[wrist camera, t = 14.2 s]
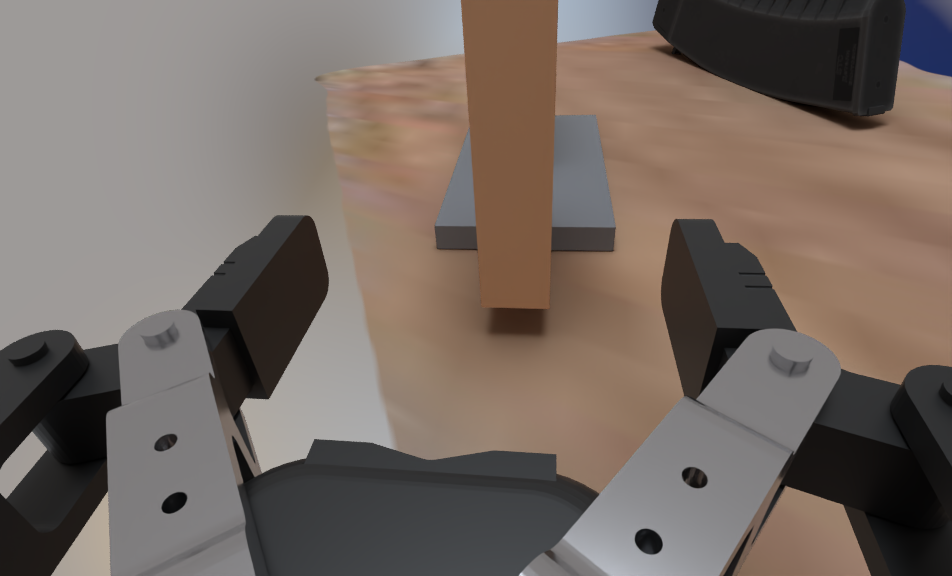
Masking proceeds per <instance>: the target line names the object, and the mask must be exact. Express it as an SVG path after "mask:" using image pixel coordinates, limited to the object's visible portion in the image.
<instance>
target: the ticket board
mask: <svg viewBox="0 0 952 576" xmlns="http://www.w3.org/2000/svg"><path fill="white" fill-rule="evenodd" d="M615 229H616V227H615V221H614V215H613V210H612V204H611V198H610V193H609V187H608V181H607V176H606V170H605V164H604V159H603V153H602V147H601V142H600V136H599V130H598V125H597V119H596V115H560V116H555V130H554V166H553V201H552V237H551V250H587V251H613V247H614V238H615ZM435 234H436V242H437V249H478V247H477V232H476V217H475V202H474V187H473V172H472V157H471V142H470V127H469V130H468V133H467V135H466V138H465V141H464V144H463V147H462V150H461V152H460V155H459V158H458V161H457V164H456V167H455V169H454V172H453V175H452V178H451V181H450V184H449V186H448V189H447V192H446V195H445V198H444V201H443V204H442V206H441V209H440V212H439V215H438V218H437V221H436V223H435Z"/></svg>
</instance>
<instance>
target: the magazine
mask: <svg viewBox="0 0 952 576" xmlns="http://www.w3.org/2000/svg"><path fill="white" fill-rule="evenodd" d="M905 12H906V8H905V3H904V0H659V1H658V4H657V8H656V11H655V15H654V19H653V26H654V28H655V29H656V30H657V31H658V32H659V33H660V34H661V35H662V36H663V37H664V38H665V39H666V40H667V41H668V42H669V43H670V44H671V45H672V46H674V48H673V51H672V54H678V53H683V54H684V55H686V56H687V57H688V58H690V59H691V60H692V61H694V62H695V63H696V64H698V65H699V66H701V67H702V68H704V69H706V70H707V71H709V72H711V73H712V74H714V75H717V76H719V77H721V78H723V79H726V80H728V81H731V82H733V83H736V84H738V85H741V86H743V87H746V88H748V89H751V90H753V91H756V92H759V93H761V94H765V95H768V96H772V97H776V98H780V99H783V100H788V101H793V102H798V103H803V104H808V105H813V106H819V107H824V108H829V109H834V110H839V111H844V112H850V113H853V115H854V116H873V115H878V114H884V113H885V111H889V110H891V109H892V108H893V104H894V96H895V89H896V81H897V74H898V66H899V58H900V51H901V43H902V35H903V28H904V20H905Z"/></svg>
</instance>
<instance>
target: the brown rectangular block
mask: <svg viewBox="0 0 952 576" xmlns="http://www.w3.org/2000/svg"><path fill="white" fill-rule="evenodd" d="M461 7H462V22H463V36H464V52H465V67H466V82H467V97H468V112H469V127H470V142H471V157H472V172H473V187H474V202H475V217H476V232H477V247H478V262H479V277H480V292H481V307H493V308H530V309H549V308H550V273H551V237H552V201H553V166H554V130H555V94H556V59H557V23H558V0H461Z"/></svg>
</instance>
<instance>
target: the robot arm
mask: <svg viewBox="0 0 952 576" xmlns="http://www.w3.org/2000/svg"><path fill="white" fill-rule="evenodd" d="M328 284H329V277H328V271H327V267H326V263H325V259H324V255H323V252H322V248H321V244H320V240H319V237H318V233H317V229H316V226H315V223H314V221H313V219H312V218H311V217H310V216H299V215H298V216H297V215H295V216H294V215H291V216H290V215H289V216H287V215H285V216H284V215H277V216H275V217H274V218H273V219H272V220H271V221H270V222H269V223H268V225H267V226H266V227H265V228H264V229H263V231H262V232H261V233H260V234H259V235H258V236H254V237H253V238H251V239H249V240H248V241H246V242H245V243H243V244H241V245H240V246H238V247H237V248H235V250H234V251H233V252H232V253H231V254H230V255H229V256H228V257H227V258H226V260H225V261H224V264H221V265H220V266H219V268H218V269H217V270H216V271H215V272H214V276H211V277H210V278H209V279H208V280H207V281H206V282H205V283H204V285H203V286H202V287H201V288H200V289H199V290H198V291H197V292H196V294H195V295H194V296H193V297H192V298H191V299H190V300H189V301H188V303H187V304H186V305H185V306H184V307H183V308H182V309H181V310H169V311H164V312H160V313H157V314H154V315H151V316H149V317H147V318H145V319H143V320H141V321H139V322H137V323H136V324H135V325H133V326H132V327H131V328H130V329H128V330H127V331H126V332H125V333H124V335H123V336H122V337H121V339H120V341H119V343H118V344H114V345H108V346H103V347H97V348H92V349H86V350H83V349H82V348H81V346H80V345H79V343H78V342H77V340H76V339H75V337H74V336H73V335H72V334H71V333H69V332H67V331H63V330H50V331H44V332H40V333H36V334H33V335H30V336H27V337H25V338H22V339H20V340H18V341H16V342H14V343H12V344H10V345H9V346H7V347H5V348H4V349H3V350H1V351H0V469H1V467H2V465H3V463H4V462H5V461H6V460H7V459H8V458H9V456H10V455H11V454H12V453H13V452H14V451H15V450H16V448H17V447H18V446H19V445H20V444H21V443H22V442H23V441H24V440H25V438H26V437H27V436H28V435H29V434H30V433H31V432H32V431H33V433H34V434H35V435H36V436H37V437H38V439H39V440H40V441H41V442H42V443H43V445H44V446H45V447H46V448H47V451H46V452H45V453H44V454H43V456H42V457H41V458H40V459H39V460H38V462H37V463H36V464H35V465H34V466H33V468H32V469H31V470H30V471H29V472H28V474H27V475H26V476H25V477H24V478H23V480H22V481H21V482H20V483H19V484H18V486H17V487H16V488H15V489H14V491H13V492H12V493H11V494H10V495H9V496H8V498H7V499H5V498H4V497H3V496H2V495H1V494H0V576H51V575H52V573H53V572H54V570H55V568H56V567H57V565H58V564H59V563H60V561H61V560H62V558H63V557H64V555H65V554H66V552H67V551H68V549H69V548H70V546H71V545H72V543H73V542H74V541H75V539H76V538H77V536H78V535H79V533H80V532H81V530H82V528H83V527H84V526H85V524H86V522H87V521H88V520H89V518H90V516H91V515H92V514H93V512H94V511H95V509H96V508H97V506H98V505H99V504H100V502H101V501H102V499H103V498H104V496H105V495H106V493H107V492H108V497H109V498H108V499H109V500H108V501H109V535H110V567H111V576H737V575H738V573H739V571H740V569H741V567H742V565H743V563H744V562H745V560H746V558H747V556H748V554H749V553H750V551H751V549H752V547H753V545H754V544H755V542H756V540H757V538H758V537H759V535H760V533H761V531H762V530H763V528H764V526H765V524H766V523H767V521H768V519H769V517H770V515H771V514H772V512H773V510H774V508H775V507H776V505H777V503H778V501H779V500H780V498H781V496H782V494H783V492H784V491H785V489H786V487H787V486H788V487H791V488H794V489H797V490H800V491H803V492H806V493H809V494H812V495H815V496H818V497H821V498H824V499H827V500H830V501H834V502H837V503H840V504H843V505H844V508H845V510H846V513H847V515H848V518H849V520H850V523H851V525H852V528H853V531H854V533H855V536H856V538H857V541H858V543H859V546H860V548H861V551H862V553H863V556H864V558H865V561H866V564H867V566H868V569H869V571H870V574H871V576H952V367H948V366H940V365H927V366H921V367H917V368H915V369H913V370H911V371H910V372H909V373H908V374H907V375H906V377H905V379H904V380H903V382H902V384H901V385H899V384H895V383H891V382H887V381H883V380H879V379H875V378H871V377H866V376H862V375H858V374H855V373H851V372H848V371H846V370H843V369H841V367H840V363H839V361H838V359H837V357H836V356H835V355H834V353H833V352H832V351H831V350H830V349H829V348H827V347H826V346H825V345H823V344H822V343H821V342H819V341H817V340H815V339H814V338H812V337H809V336H807V335H805V334H802V333H799V332H797V331H796V329H795V327H794V325H793V323H792V321H791V320H790V318H789V316H788V314H787V312H786V310H785V309H784V307H783V305H782V303H781V301H780V299H779V297H778V296H777V294H776V292H775V290H774V289H772V284H771V283H770V281H769V279H768V277H767V276H765V271H764V270H763V268H762V266H761V264H760V262H759V260H758V259H757V257H756V256H755V255H753V254H752V253H751V252H750V251H748V250H747V249H746V248H744V247H743V246H742V245H740V244H739V243H724V241H723V239H722V236H721V234H720V232H719V230H718V228H717V226H716V224H715V222H714V220H712V219H675V220H674V222H673V224H672V228H671V233H670V238H669V244H668V249H667V255H666V261H665V266H664V272H663V277H662V285H661V302H662V309H663V313H664V317H665V321H666V325H667V329H668V333H669V337H670V341H671V345H672V349H673V352H674V356H675V360H676V364H677V368H678V372H679V376H680V380H681V384H682V388H683V392H684V397H683V398H682V399H680V400H679V401H678V403H677V404H676V405H675V406H674V407H673V408H672V410H671V411H670V412H669V413H668V414H667V415H666V417H665V418H664V419H663V420H662V421H661V423H660V424H659V425H658V426H657V427H656V428H655V430H654V431H653V432H652V433H651V434H650V436H649V437H648V438H647V439H646V440H645V441H644V443H643V444H642V445H641V446H640V447H639V448H638V450H637V451H636V452H635V453H634V454H633V456H632V457H631V458H630V459H629V460H628V461H627V463H626V464H625V465H624V466H623V467H622V469H621V470H620V471H619V472H618V473H617V474H616V476H615V477H614V478H613V479H612V480H611V482H610V483H609V484H608V485H607V486H606V487H605V489H604V490H603V491H602V492H601V493H600V494H599V493H597V492H596V491H594V490H593V489H591V488H589V487H587V486H586V485H584V484H582V483H580V482H577V481H575V480H573V479H570V478H568V477H565V476H562V475H559V474H556V454H541V453H525V452H509V451H488V452H482V453H475V454H469V455H463V456H456V457H450V458H444V459H437V460H425V459H421V458H418V457H415V456H412V455H409V454H405V453H402V452H399V451H396V450H393V449H389V448H386V447H383V446H380V445H377V444H374V443H366V442H350V441H335V440H319V439H318V440H317V439H314V442H313V444H312V446H311V449H310V451H309V453H308V456H307V458H306V459H301V460H297V461H294V462H290V463H286V464H283V465H281V466H278V467H275V468H272V469H270V470H268V471H266V472H264V473H262V472H261V469H260V465H259V462H258V459H257V456H256V452H255V449H254V446H253V443H252V440H251V436H250V433H249V430H248V426H247V423H246V420H245V417H244V415H243V412H242V410H241V408H240V406H241V405H242V403H243V401H244V400H245V398H253V399H269V398H270V396H271V394H272V393H273V391H274V389H275V387H276V385H277V384H278V382H279V380H280V378H281V377H282V375H283V373H284V371H285V369H286V368H287V366H288V364H289V362H290V360H291V359H292V357H293V355H294V353H295V352H296V350H297V348H298V346H299V344H300V342H301V341H302V339H303V337H304V335H305V334H306V332H307V330H308V328H309V326H310V325H311V323H312V321H313V319H314V318H315V316H316V314H317V312H318V310H319V309H320V307H321V305H322V303H323V301H324V300H325V297H326V295H327V292H328Z"/></svg>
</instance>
